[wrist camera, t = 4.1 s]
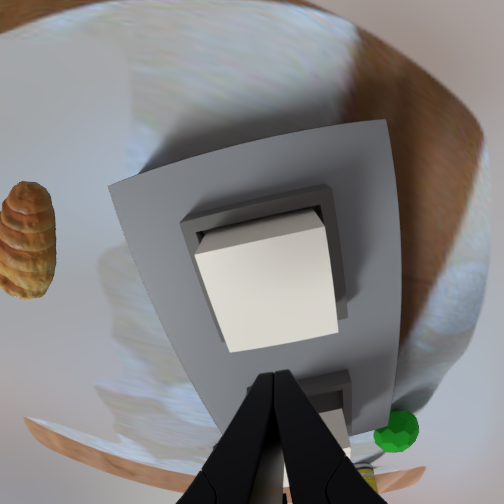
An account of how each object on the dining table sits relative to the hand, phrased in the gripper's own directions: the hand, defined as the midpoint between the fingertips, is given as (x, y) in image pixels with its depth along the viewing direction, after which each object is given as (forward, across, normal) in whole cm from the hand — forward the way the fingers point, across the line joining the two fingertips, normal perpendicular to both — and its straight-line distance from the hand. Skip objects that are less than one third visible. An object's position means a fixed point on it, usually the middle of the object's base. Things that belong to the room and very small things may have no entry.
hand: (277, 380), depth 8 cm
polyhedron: (+12, -9, +23) cm, 28 cm away
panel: (+12, 0, +6) cm, 13 cm away
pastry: (+12, +19, -4) cm, 23 cm away
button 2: (+8, 0, 0) cm, 8 cm away
